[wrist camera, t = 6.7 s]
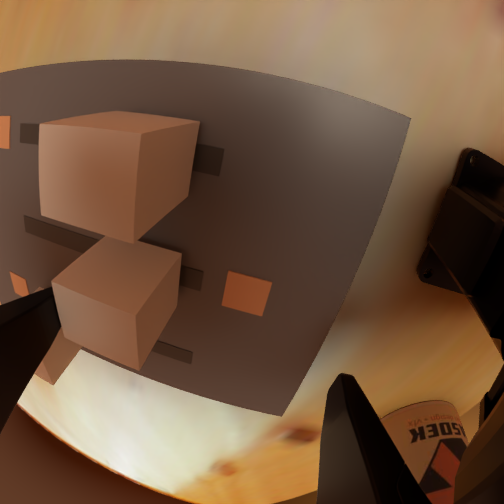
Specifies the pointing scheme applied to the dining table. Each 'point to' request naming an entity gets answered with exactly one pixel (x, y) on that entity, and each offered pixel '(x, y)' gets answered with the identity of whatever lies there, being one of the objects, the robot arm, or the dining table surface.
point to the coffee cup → (429, 445)
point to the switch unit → (218, 212)
